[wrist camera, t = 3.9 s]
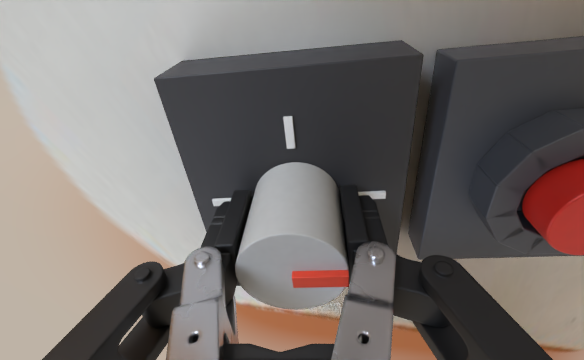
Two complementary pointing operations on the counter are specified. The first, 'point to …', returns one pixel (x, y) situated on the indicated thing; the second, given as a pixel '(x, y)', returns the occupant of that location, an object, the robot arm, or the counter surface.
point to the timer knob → (294, 239)
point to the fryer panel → (297, 120)
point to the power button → (559, 207)
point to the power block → (495, 145)
